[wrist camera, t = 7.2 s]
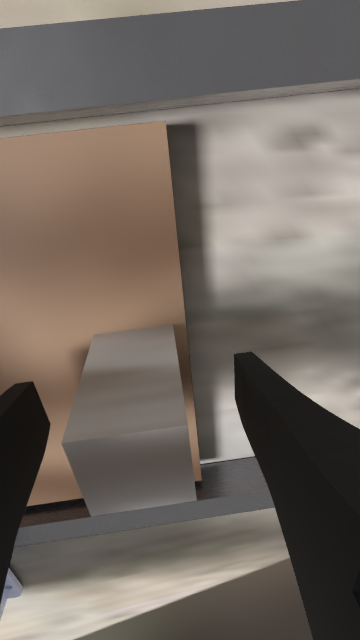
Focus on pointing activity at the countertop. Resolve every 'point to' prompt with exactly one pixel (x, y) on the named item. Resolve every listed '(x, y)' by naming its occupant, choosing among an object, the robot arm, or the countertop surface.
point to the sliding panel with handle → (98, 314)
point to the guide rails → (162, 93)
